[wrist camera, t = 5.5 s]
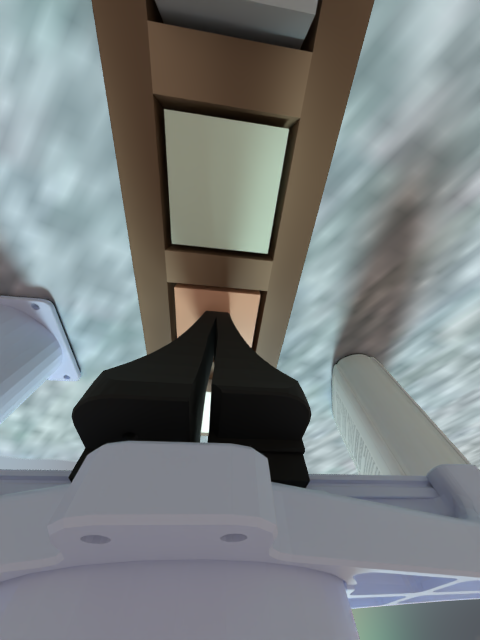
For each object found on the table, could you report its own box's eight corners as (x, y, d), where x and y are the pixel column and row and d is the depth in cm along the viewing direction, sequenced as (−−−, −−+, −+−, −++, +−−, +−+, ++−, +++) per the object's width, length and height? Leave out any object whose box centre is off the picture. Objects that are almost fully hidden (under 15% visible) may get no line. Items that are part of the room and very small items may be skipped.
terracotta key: (184, 336, 14) (178, 355, 12) (182, 274, 12) (174, 287, 10) (247, 340, 14) (249, 359, 13) (256, 281, 12) (260, 294, 11)
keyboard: (173, 390, 20) (159, 434, 16) (123, -215, 6) (-40, -836, 3) (253, 394, 21) (257, 437, 17) (365, -146, 7) (523, -559, 3)
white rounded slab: (368, 415, 23) (482, 595, 13) (330, 422, 24) (410, 602, 13) (376, 347, 18) (578, 553, 8) (327, 357, 19) (454, 566, 8)
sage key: (181, 236, 11) (171, 243, 9) (177, 127, 9) (164, 108, 7) (262, 245, 11) (267, 253, 10) (278, 142, 9) (289, 128, 7)
